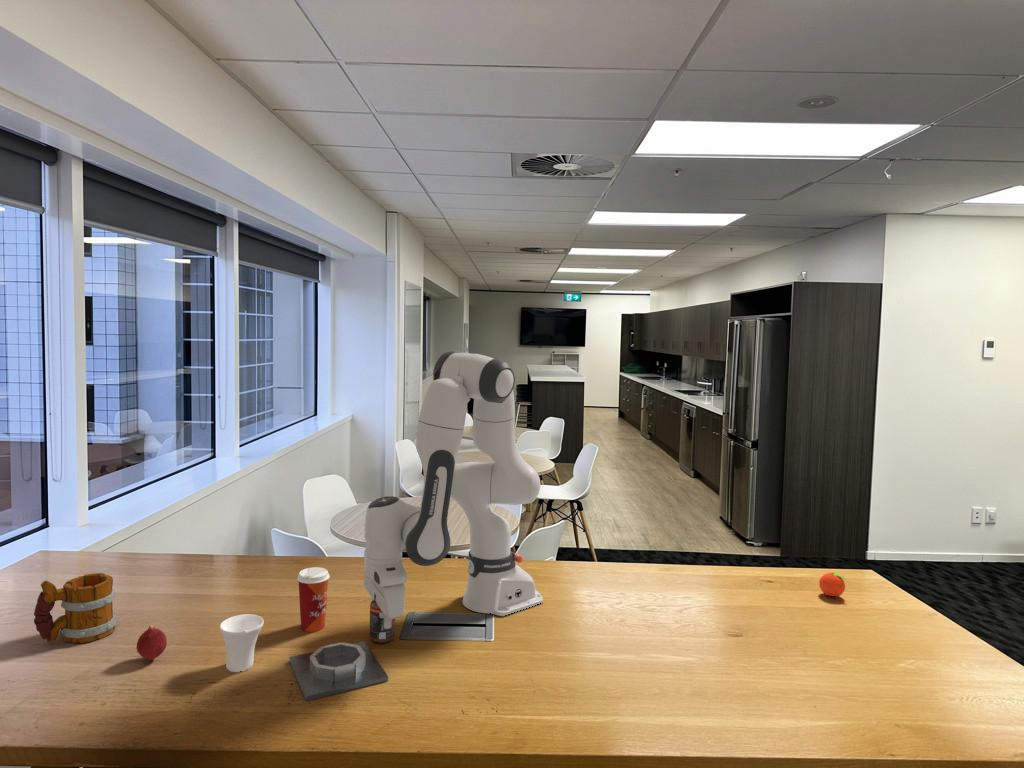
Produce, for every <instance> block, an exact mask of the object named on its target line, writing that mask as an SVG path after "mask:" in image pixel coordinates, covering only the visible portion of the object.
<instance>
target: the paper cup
mask: <svg viewBox="0 0 1024 768" xmlns="http://www.w3.org/2000/svg"><path fill="white" fill-rule="evenodd" d="M330 577H331V576H330V573H329V572H328V569H327V568H325V567H319V566H318V567H316V566H315V567H314V566H313V567H307V568H304V569H302V570H300V572H299V573H298V576H297V578H296V580H297V581H298V595H299V599H298V600H299V616H300V628H301V630H302V631H303V632H307V633H314V632H318V631H321V630H323V629H324V628H325V624H326V615H327V614H326V613H327V604H328V603H327V599H328V587H329V579H330Z"/></svg>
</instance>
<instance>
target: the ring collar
mask: <svg viewBox="0 0 1024 768" xmlns="http://www.w3.org/2000/svg"><path fill="white" fill-rule="evenodd" d="M288 658H289V660H288V662H289V664H290V667H291V669H292V671H293V673H294V675H295V678H296V680H297V682H298V684H299V689H300V690H301V692H302V695H303V696H304V699H305V701H306V702H308V701H313V700H317V699H320V698H321V699H322V698H324V697H328V696H333V695H337V694H341V693H345V692H348V691H353V690H358V689H361V688H364V687H369V686H373V685H376V684H381V683H385V682H388V681H389V676H388V674H387V672H386V671H385V669H384V668H383V667H382V665H381V664H380V662H379V661H378V659H377V657H376V656H375V655H374V653H373V652H372V650H371V648H370V647H369V645H368V644H367V643H366V641H358V642H354V643H348V642H338V643H336V642H335V643H331V644H327V645H322V646H319V648H317V649H316V650H315V651H312V652H308V653H303V654H299V655H294V656H290V657H288Z"/></svg>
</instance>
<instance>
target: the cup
mask: <svg viewBox="0 0 1024 768" xmlns="http://www.w3.org/2000/svg"><path fill="white" fill-rule="evenodd" d="M264 622H265V621H264V618H263V617H262V616H260V615H257V614H254V613H253V614H251V613H243V614H242V613H241V614H238V615H234V616H231V617H228V618H225V620H223V621H222V622H221V623H220V625H219V631H220V633H221V635H222V636H223V639H224V640H223V641H224V645H225V653H226V664H225V665H226V666H225V667H226V670H228V671H229V672H231V673H241V672H240V671H242V672H245V671H247V669H248V670H249V669H251V668H252V666H253V665H254V662H255V660H254V657H255V648H256V643H257V640H258V637H259V634H260V632H261V630H262V629H263V627H264ZM250 667H251V668H250Z"/></svg>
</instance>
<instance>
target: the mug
mask: <svg viewBox="0 0 1024 768" xmlns="http://www.w3.org/2000/svg"><path fill="white" fill-rule="evenodd" d="M113 583H114V579H113V577H112V576H111V575H110V574H105V573H102V572H92V573H87V574H84V575H81V576H77V577H74V578H72V579H69V580H67V581H66V582H64V584H63V585H62V588H57V587H56V585H55V584H54V583H52V582H50V581H49V580H44V581H42V583H40V587H41V589H42V591H40V593H39V595H38V597H37V600H36V604H35V608H34V612H33V616H34V619H33V623H34V625H35V627H36V631H37V632H39V635H40V637H41V638H42V640H46V642H47V643H52V642H54V641H56V639H57V638H58V635H59V632H60V634H62V639H63V640H64V641H65V642H66V643H69V644H70V643H71V644H78V643H79V644H84V643H92V642H95V641H97V640H102V639H105V638H107V637H109V636H110V635H112V634H113V633H114V631H115V629H116V623H117V618H118V617H117V615H116V613H114V610H113V609H114V608H113V604H114V603H113V601H114V600H115V595H116V590H114V589H113ZM57 601H61V603H60V607H61V608H63V609H64V614H63V615H61V616H59V617H57V618H56V619H55V620H54V618H53V615H52V614H51V611H52V610H53V609H54V606H55V604H56V602H57Z"/></svg>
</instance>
